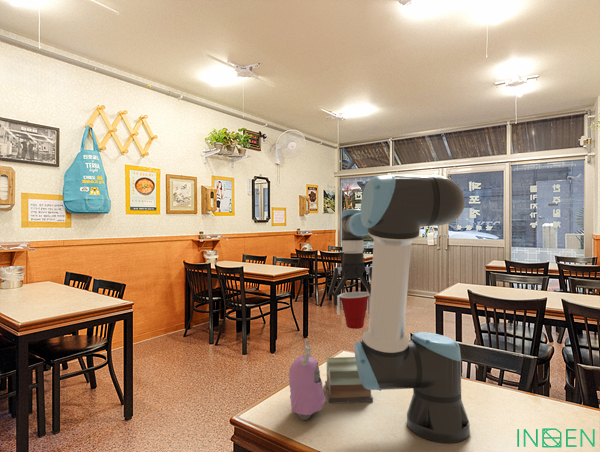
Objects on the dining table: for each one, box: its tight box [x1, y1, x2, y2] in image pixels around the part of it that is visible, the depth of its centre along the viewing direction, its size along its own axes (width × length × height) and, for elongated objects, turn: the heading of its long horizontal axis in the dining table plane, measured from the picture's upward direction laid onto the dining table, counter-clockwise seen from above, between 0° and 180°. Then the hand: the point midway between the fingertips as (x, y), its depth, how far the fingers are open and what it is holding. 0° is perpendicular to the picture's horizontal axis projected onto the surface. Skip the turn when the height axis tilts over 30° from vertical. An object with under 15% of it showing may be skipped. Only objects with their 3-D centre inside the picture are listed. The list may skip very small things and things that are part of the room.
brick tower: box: [324, 356, 374, 404], centre depth 115 cm, size 13×13×9 cm
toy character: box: [288, 339, 327, 421], centre depth 102 cm, size 12×10×20 cm
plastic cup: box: [338, 291, 370, 330], centre depth 132 cm, size 11×11×12 cm
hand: (354, 314), depth 131 cm, fingers closed on plastic cup, 11 cm apart
